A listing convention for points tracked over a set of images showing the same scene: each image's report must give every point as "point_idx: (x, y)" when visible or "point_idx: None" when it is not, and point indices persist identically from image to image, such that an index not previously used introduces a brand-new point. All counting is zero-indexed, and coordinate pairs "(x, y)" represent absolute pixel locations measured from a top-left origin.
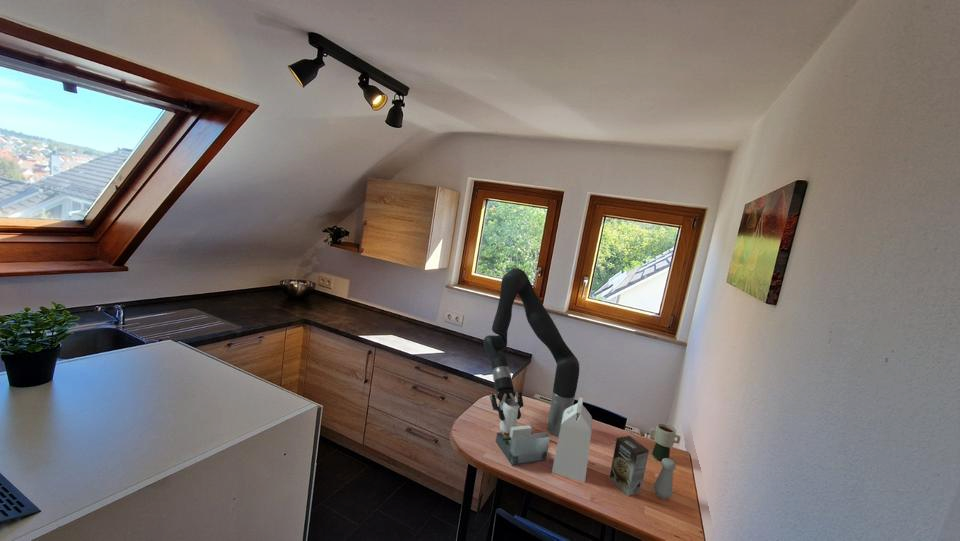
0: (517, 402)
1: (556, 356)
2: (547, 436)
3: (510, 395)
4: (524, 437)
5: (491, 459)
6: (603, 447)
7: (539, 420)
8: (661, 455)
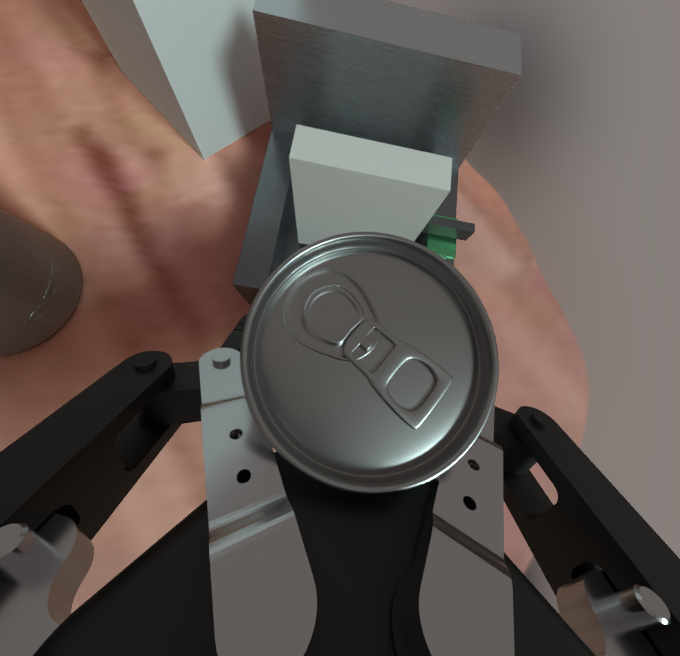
0: (258, 311)
1: None
2: None
3: (291, 566)
4: (445, 35)
5: (496, 236)
6: None
7: (15, 435)
8: None
